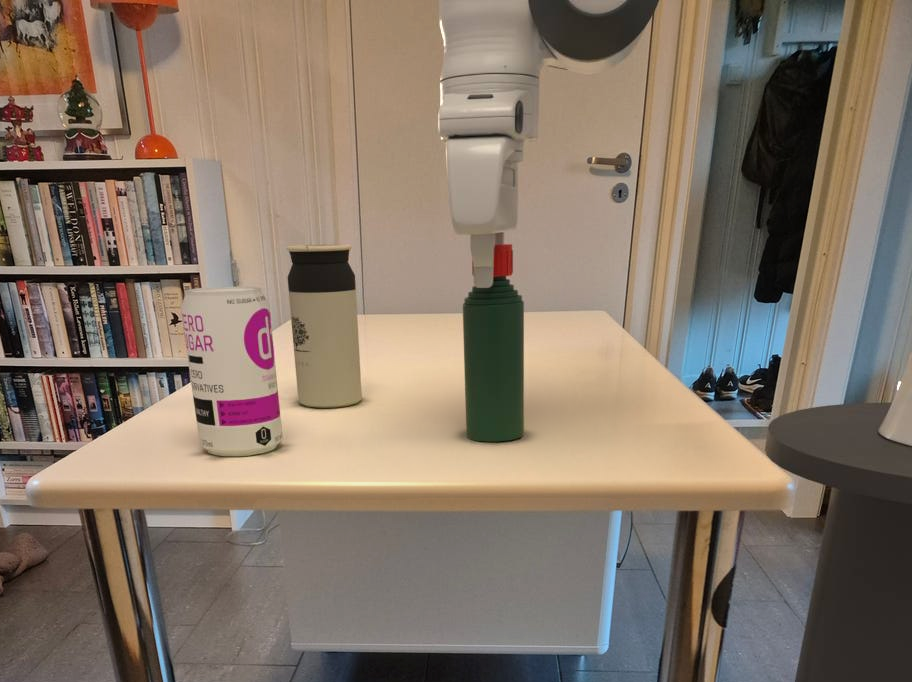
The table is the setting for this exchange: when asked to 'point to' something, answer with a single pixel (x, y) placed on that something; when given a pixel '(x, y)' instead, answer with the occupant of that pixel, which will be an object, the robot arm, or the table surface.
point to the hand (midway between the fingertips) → (487, 285)
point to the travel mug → (324, 325)
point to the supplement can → (232, 369)
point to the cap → (502, 260)
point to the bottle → (494, 362)
